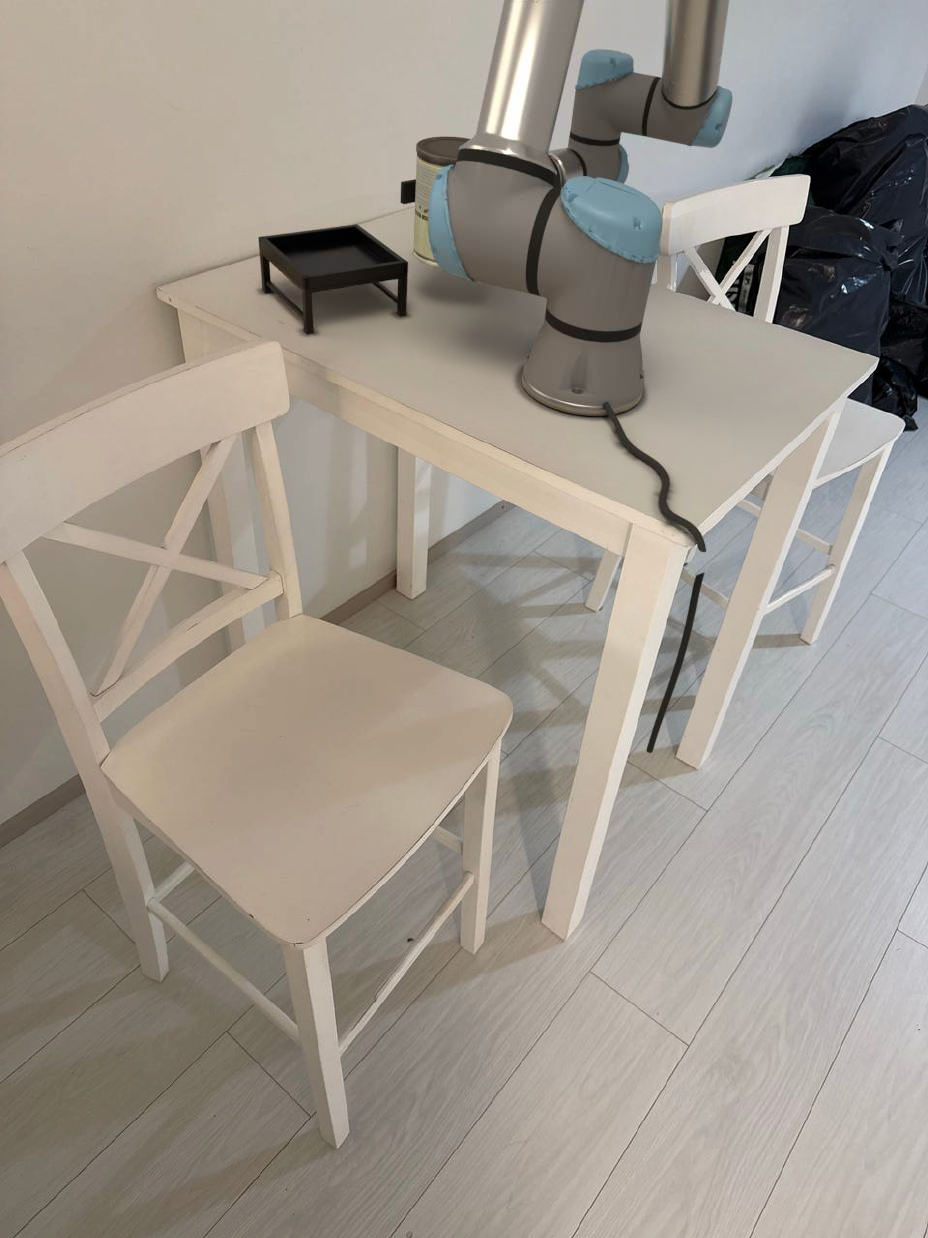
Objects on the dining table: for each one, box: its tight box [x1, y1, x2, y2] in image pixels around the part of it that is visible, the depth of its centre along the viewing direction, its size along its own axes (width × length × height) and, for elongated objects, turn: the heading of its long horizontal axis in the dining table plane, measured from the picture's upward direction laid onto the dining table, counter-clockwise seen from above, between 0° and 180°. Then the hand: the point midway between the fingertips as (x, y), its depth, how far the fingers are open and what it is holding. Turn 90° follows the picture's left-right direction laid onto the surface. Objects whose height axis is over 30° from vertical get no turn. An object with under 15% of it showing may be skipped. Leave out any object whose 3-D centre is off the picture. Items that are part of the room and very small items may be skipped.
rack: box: [258, 223, 409, 335], centre depth 125 cm, size 15×15×8 cm
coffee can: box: [412, 136, 471, 269], centre depth 123 cm, size 10×10×14 cm
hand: (427, 204), depth 120 cm, fingers closed on coffee can, 10 cm apart
